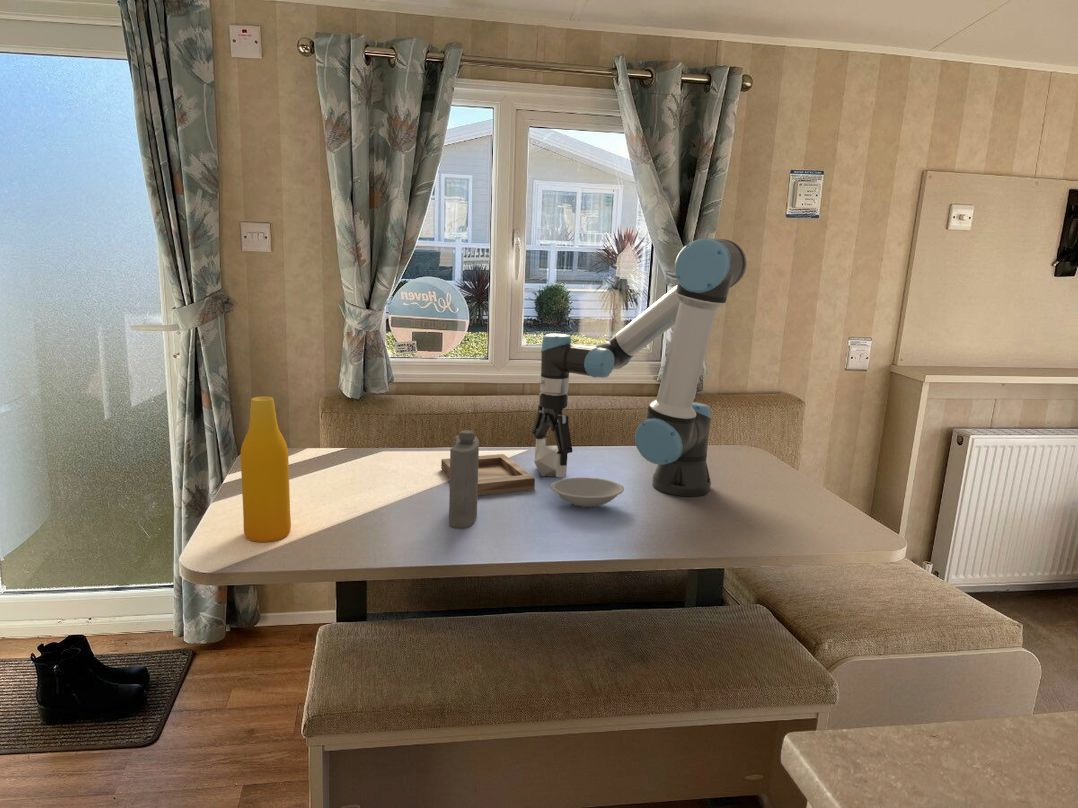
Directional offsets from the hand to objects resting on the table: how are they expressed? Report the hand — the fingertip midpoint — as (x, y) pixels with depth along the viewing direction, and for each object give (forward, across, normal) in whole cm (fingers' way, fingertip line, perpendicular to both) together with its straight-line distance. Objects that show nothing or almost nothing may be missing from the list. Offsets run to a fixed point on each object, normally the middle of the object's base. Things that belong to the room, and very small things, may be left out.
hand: (550, 468), depth 201 cm
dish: (+2, +25, -2) cm, 25 cm away
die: (+2, 0, 0) cm, 2 cm away
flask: (+2, +22, -32) cm, 39 cm away
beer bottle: (+2, +19, -74) cm, 76 cm away
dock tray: (+2, -1, -18) cm, 18 cm away
